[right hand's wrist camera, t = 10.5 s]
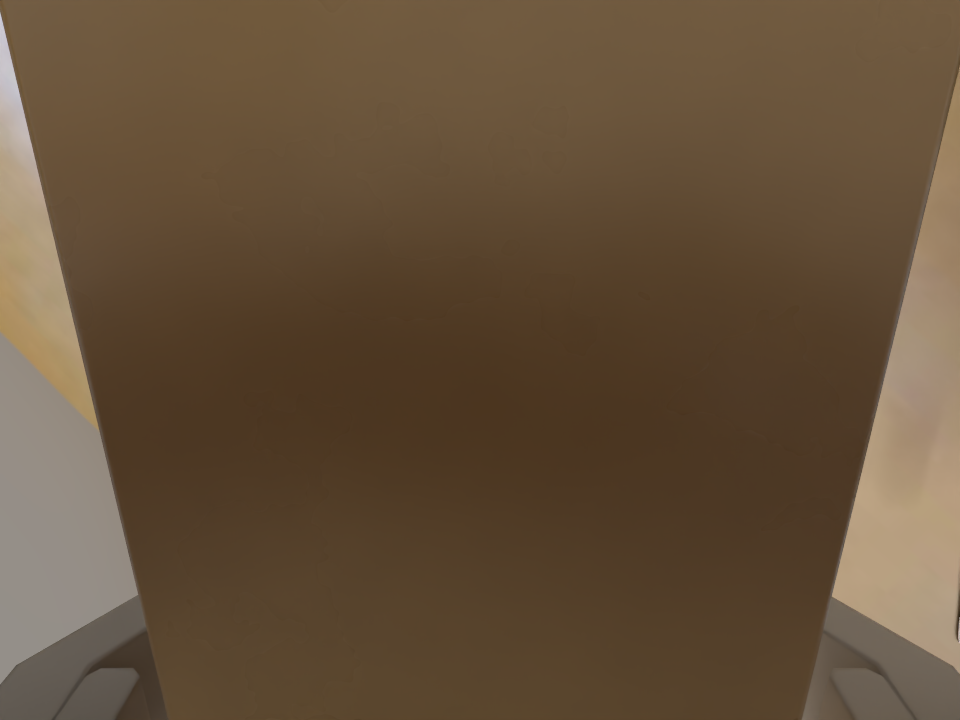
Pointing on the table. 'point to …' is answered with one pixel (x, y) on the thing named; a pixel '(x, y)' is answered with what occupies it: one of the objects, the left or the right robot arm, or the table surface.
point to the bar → (485, 334)
